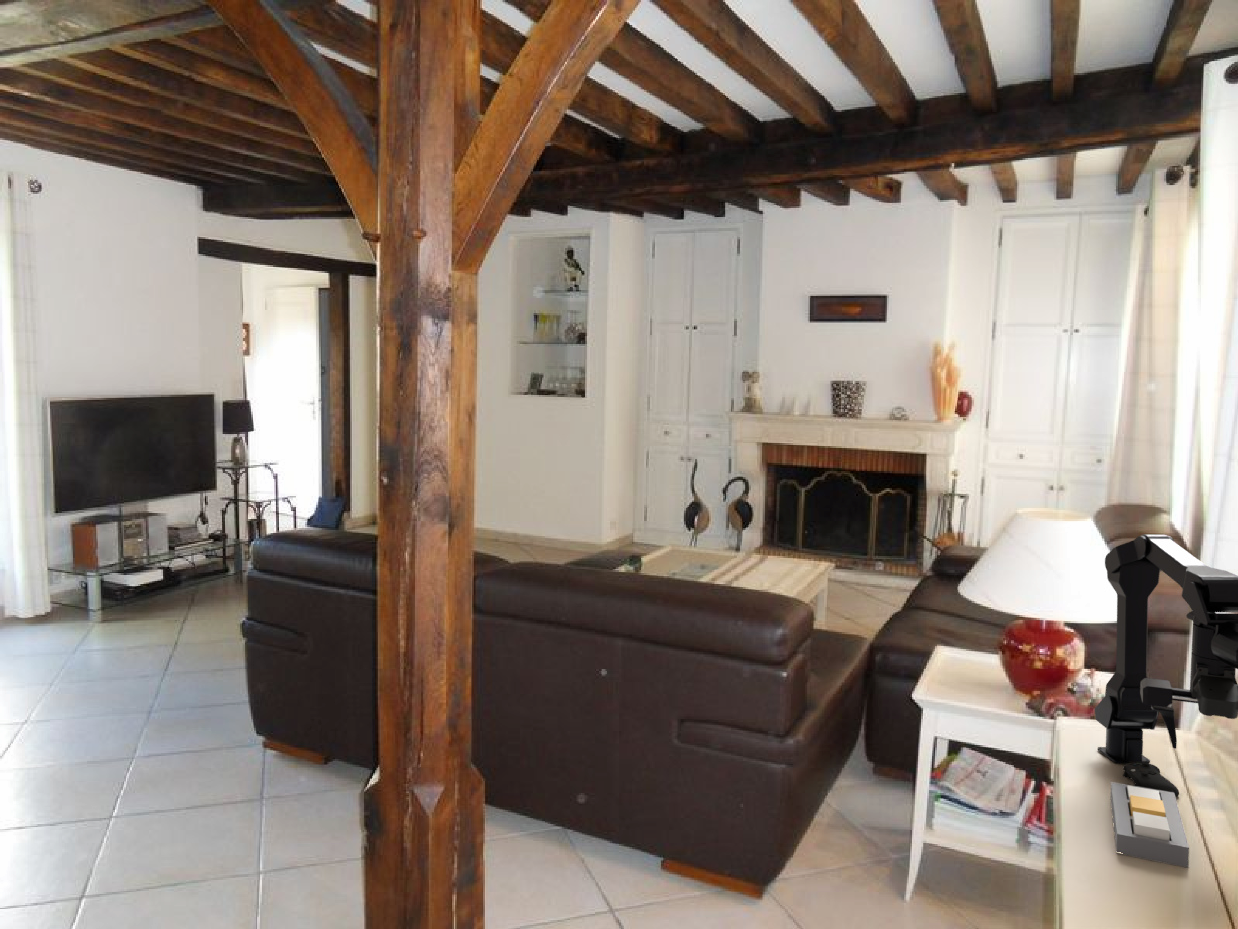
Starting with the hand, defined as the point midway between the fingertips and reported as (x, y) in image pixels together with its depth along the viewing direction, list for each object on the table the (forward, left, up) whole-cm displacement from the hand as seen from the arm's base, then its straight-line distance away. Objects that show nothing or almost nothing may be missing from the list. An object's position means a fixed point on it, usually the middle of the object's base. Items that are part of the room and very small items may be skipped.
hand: (1209, 752), depth 136 cm
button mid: (+1, -10, -10) cm, 14 cm away
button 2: (+6, -13, -10) cm, 17 cm away
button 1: (-4, -7, -11) cm, 14 cm away
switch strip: (+1, -10, -12) cm, 16 cm away
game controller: (-15, 0, -13) cm, 19 cm away
